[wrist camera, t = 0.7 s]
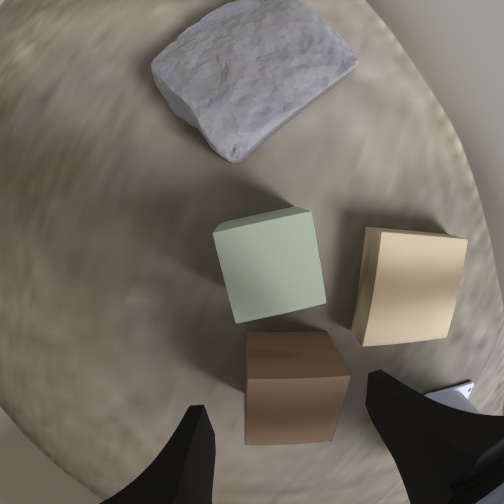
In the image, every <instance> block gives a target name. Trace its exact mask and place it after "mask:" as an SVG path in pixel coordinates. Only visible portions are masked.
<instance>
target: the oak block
mask: <svg viewBox="0 0 504 504" xmlns="http://www.w3.org/2000/svg"><path fill="white" fill-rule="evenodd" d="M466 247H467V239H464V238H460V237H457V236H453V235H449V234H442V233H432V232H422V231H411V230H400V229H388V228H376V227H365V236H364V246H363V254H362V263H361V270H360V278H359V285H358V291H357V298H356V304H355V310H354V316H353V321H352V327H351V331H352V333H353V334H354V335H355V337H356V338H357V340H358V341H359V342H360V344H361V345H362V347H365V346H378V345H389V344H399V343H408V342H417V341H425V340H433V339H440V338H446V337H447V334H448V330H449V327H450V323H451V320H452V316H453V312H454V308H455V304H456V300H457V296H458V291H459V287H460V282H461V277H462V272H463V266H464V260H465V254H466Z"/></svg>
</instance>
